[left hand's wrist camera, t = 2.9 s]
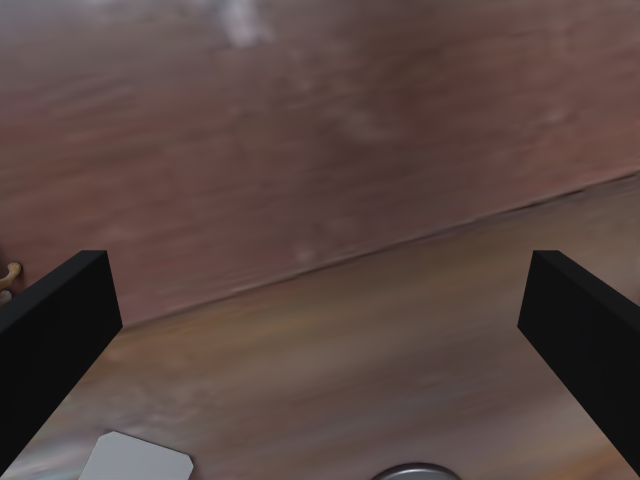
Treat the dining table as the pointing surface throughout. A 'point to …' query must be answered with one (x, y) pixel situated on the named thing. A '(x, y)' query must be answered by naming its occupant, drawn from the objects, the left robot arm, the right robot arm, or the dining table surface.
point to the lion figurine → (8, 282)
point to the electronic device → (134, 460)
